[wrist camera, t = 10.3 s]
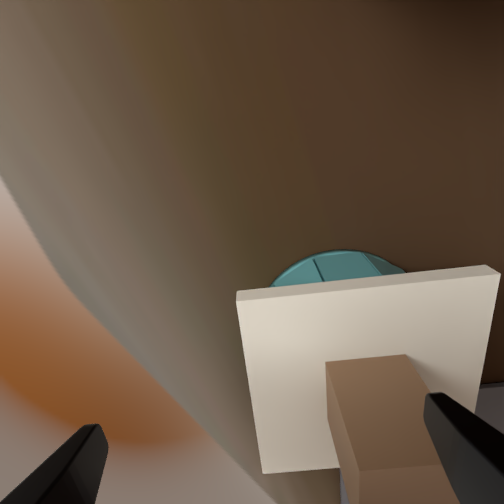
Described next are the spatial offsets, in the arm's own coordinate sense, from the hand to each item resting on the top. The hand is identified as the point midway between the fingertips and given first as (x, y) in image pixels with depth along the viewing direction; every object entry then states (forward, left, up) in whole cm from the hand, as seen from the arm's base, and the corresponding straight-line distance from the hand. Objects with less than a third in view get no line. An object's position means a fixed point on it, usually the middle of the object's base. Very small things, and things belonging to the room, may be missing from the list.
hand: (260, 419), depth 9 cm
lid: (-5, +6, -8) cm, 11 cm away
